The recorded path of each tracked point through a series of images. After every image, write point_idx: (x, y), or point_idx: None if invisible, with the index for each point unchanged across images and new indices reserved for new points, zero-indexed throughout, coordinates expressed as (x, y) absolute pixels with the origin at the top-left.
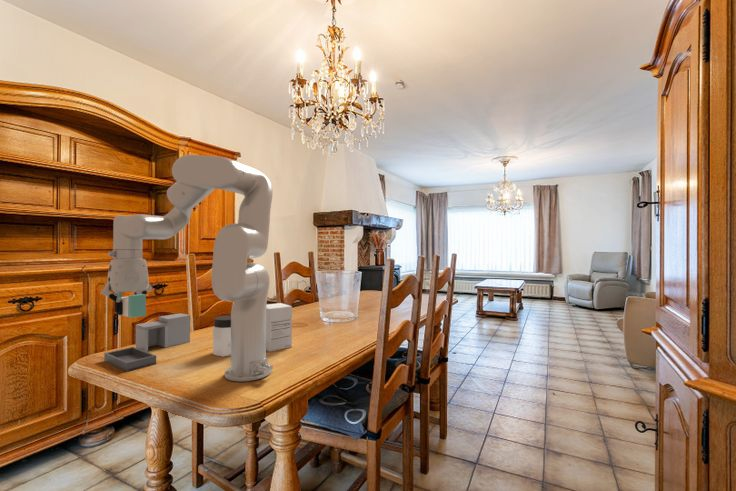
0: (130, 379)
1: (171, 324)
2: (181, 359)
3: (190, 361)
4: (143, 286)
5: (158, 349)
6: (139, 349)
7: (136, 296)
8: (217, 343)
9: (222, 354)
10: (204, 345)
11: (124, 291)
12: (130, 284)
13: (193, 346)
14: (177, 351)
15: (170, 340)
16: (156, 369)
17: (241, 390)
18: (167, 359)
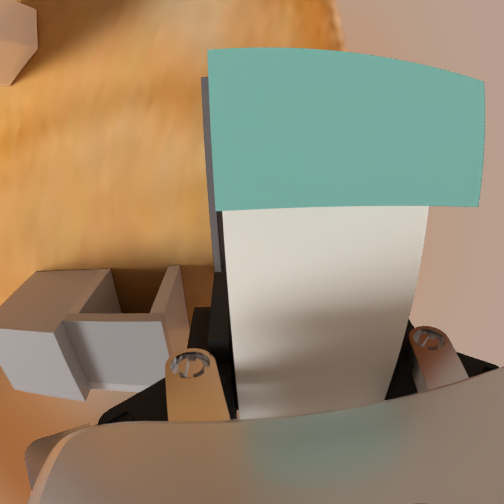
0: (326, 2)
1: (53, 314)
2: (122, 67)
3: (115, 24)
4: (131, 473)
5: (133, 264)
6: (211, 229)
7: (400, 68)
8: (13, 20)
9: (32, 8)
10: (12, 187)
11: (469, 378)
12: (447, 501)
13: (38, 204)
14: (92, 183)
15: (84, 279)
16: (231, 22)
17: None
18: (154, 105)
